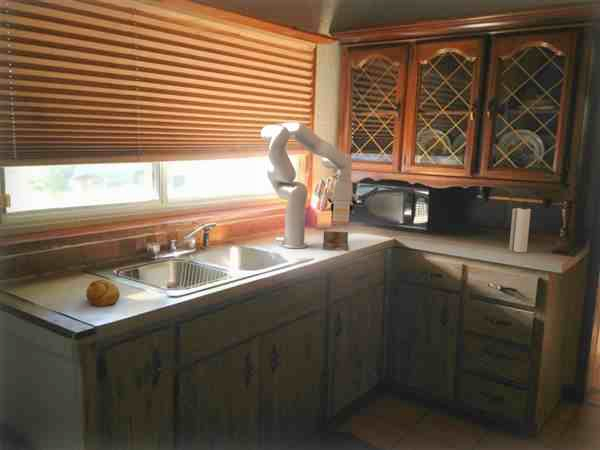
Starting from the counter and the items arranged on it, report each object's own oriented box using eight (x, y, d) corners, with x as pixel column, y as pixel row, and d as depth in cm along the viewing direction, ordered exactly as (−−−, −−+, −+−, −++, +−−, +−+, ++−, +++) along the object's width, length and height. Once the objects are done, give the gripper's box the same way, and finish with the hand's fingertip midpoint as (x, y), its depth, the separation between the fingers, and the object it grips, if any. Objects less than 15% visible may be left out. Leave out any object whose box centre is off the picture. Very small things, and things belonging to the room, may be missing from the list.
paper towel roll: (528, 251, 264) (532, 208, 261) (523, 253, 260) (527, 209, 256) (514, 249, 269) (518, 207, 266) (508, 251, 265) (512, 208, 261)
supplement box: (348, 222, 281) (350, 197, 279) (348, 223, 276) (350, 198, 274) (332, 221, 281) (334, 196, 279) (332, 222, 277) (334, 197, 275)
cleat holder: (322, 249, 257) (323, 235, 256) (323, 244, 269) (323, 231, 267) (347, 250, 256) (348, 236, 255) (347, 245, 268) (348, 232, 267)
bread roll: (83, 298, 175) (82, 274, 174) (114, 294, 180) (113, 271, 179) (89, 310, 164) (88, 284, 163) (122, 305, 169) (121, 281, 168)
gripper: (326, 177, 272) (324, 212, 275) (360, 179, 271) (358, 214, 274) (326, 177, 280) (324, 210, 282) (360, 178, 279) (357, 212, 281)
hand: (341, 212), depth 278 cm, fingers closed on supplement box, 8 cm apart
